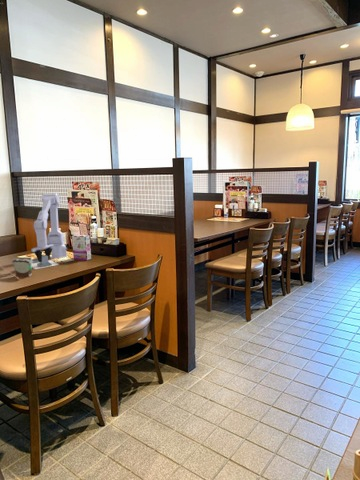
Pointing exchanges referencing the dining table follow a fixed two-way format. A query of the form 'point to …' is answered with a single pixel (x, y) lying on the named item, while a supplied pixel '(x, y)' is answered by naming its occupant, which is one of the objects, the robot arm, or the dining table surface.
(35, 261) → the panel
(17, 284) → the dining table surface
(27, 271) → the food container
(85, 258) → the candy bar box
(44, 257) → the plug
